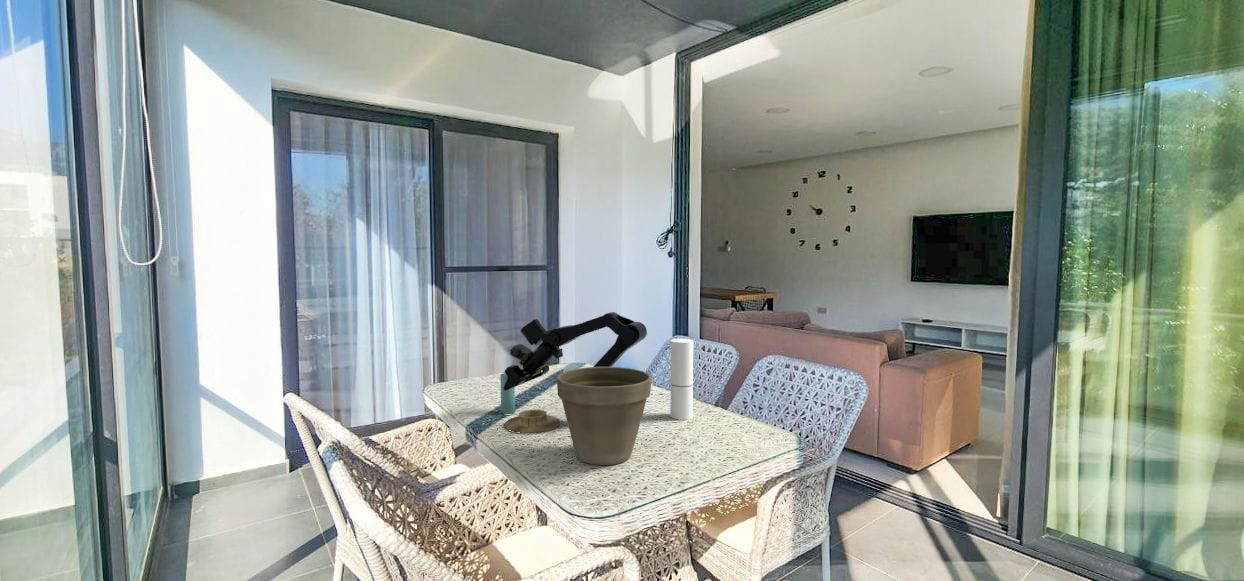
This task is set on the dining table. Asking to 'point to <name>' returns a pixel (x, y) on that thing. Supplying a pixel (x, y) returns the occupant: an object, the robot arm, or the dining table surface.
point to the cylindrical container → (681, 379)
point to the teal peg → (507, 397)
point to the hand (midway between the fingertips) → (512, 386)
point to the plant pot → (603, 411)
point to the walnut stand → (532, 422)
